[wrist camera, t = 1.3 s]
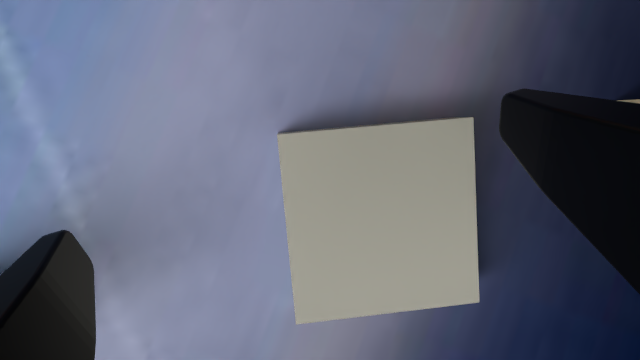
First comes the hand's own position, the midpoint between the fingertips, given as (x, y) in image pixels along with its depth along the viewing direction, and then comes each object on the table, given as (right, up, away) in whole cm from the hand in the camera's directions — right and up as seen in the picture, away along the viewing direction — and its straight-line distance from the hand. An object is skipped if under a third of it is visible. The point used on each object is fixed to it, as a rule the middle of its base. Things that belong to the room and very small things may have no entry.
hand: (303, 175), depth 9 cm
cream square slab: (+3, -2, +17) cm, 17 cm away
